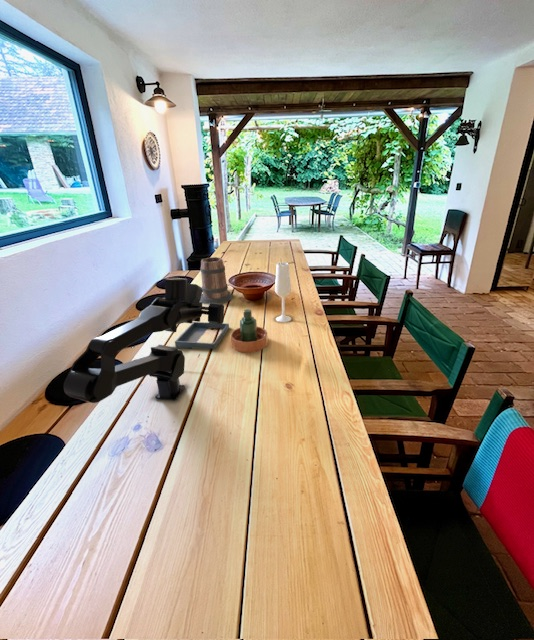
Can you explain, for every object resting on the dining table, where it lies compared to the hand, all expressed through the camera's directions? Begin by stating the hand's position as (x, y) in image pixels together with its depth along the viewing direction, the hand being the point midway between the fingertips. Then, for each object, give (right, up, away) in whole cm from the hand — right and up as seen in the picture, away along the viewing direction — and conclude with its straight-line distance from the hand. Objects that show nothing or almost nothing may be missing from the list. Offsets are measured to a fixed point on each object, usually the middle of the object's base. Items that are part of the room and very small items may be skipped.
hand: (210, 308), depth 108 cm
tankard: (-7, +9, +59) cm, 60 cm away
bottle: (+13, -12, +9) cm, 20 cm away
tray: (-5, -11, +16) cm, 20 cm away
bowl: (+13, -13, +10) cm, 21 cm away
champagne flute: (+26, -4, +29) cm, 40 cm away
